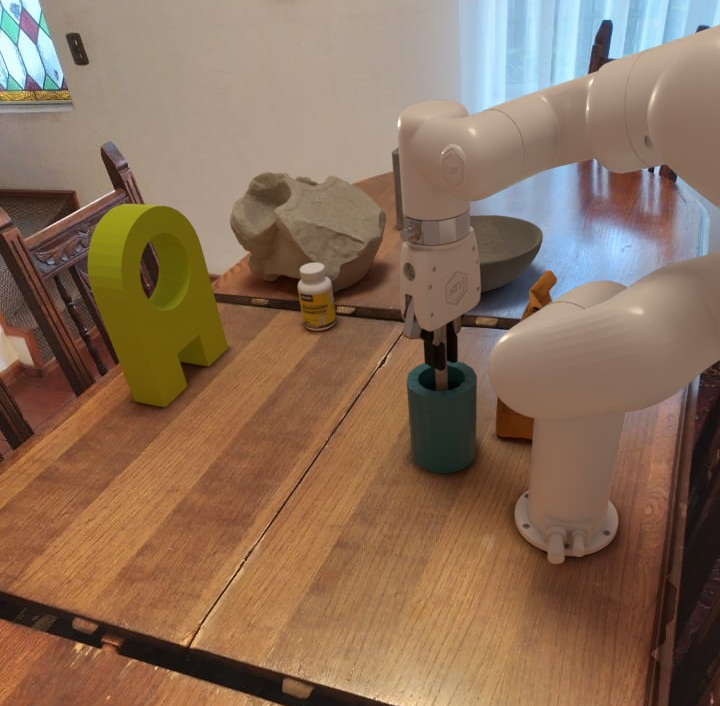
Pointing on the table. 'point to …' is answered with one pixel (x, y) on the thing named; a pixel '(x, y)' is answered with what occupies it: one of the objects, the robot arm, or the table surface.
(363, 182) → the table surface
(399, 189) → the hip flask
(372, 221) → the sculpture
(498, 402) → the coffee package
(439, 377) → the scrub brush
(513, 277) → the bowl
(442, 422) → the jar
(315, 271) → the pill bottle
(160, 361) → the decorative object
